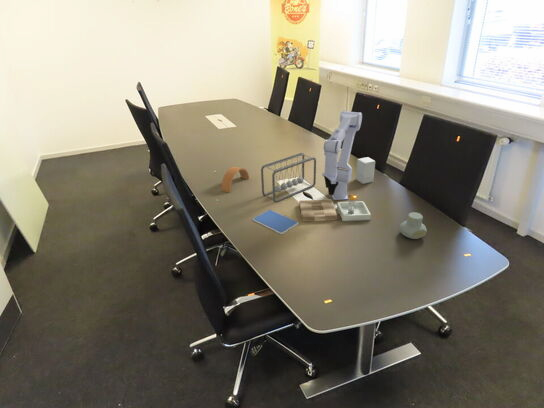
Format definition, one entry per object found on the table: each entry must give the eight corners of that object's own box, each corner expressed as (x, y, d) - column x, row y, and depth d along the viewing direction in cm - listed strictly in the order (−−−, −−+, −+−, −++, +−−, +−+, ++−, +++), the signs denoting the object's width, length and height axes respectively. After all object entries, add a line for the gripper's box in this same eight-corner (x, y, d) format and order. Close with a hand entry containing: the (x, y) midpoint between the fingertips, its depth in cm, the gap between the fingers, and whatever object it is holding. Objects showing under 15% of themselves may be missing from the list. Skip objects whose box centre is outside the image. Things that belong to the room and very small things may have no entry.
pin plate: (299, 204, 182) (299, 200, 180) (330, 203, 182) (330, 199, 181) (302, 221, 168) (303, 217, 166) (336, 219, 168) (337, 215, 167)
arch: (221, 190, 199) (219, 174, 194) (241, 177, 214) (240, 161, 209) (229, 192, 196) (228, 176, 191) (249, 179, 211) (248, 163, 206)
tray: (337, 207, 178) (337, 202, 177) (363, 206, 178) (363, 201, 177) (342, 221, 167) (343, 215, 165) (370, 220, 167) (370, 214, 165)
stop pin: (346, 210, 174) (347, 194, 170) (354, 210, 174) (356, 193, 170) (347, 215, 171) (349, 198, 166) (356, 214, 171) (358, 198, 166)
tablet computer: (251, 221, 171) (251, 218, 170) (269, 210, 178) (269, 208, 178) (281, 236, 159) (281, 233, 158) (299, 224, 167) (299, 222, 166)
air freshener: (406, 242, 151) (410, 222, 146) (395, 232, 158) (398, 212, 153) (428, 237, 153) (433, 218, 148) (416, 227, 160) (420, 208, 155)
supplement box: (373, 181, 202) (376, 161, 196) (362, 184, 200) (364, 163, 194) (366, 176, 208) (368, 156, 202) (355, 179, 206) (357, 158, 200)
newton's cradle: (274, 203, 184) (272, 172, 175) (261, 196, 191) (260, 165, 182) (315, 186, 200) (316, 156, 191) (303, 180, 207) (303, 151, 198)
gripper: (320, 159, 171) (319, 184, 178) (325, 171, 158) (323, 198, 165) (334, 158, 171) (333, 184, 178) (341, 170, 159) (339, 197, 165)
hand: (329, 191), depth 171 cm, fingers open, 7 cm apart
